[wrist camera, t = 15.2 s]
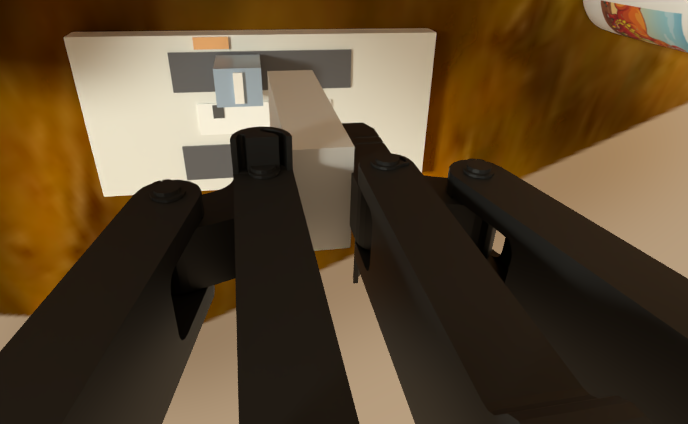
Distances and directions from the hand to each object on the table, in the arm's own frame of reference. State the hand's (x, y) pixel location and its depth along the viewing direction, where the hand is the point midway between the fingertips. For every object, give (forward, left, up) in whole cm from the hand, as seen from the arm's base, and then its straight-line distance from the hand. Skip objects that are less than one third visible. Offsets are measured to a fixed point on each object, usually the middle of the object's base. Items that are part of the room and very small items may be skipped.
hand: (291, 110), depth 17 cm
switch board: (-1, -7, -22) cm, 23 cm away
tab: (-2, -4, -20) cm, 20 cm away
